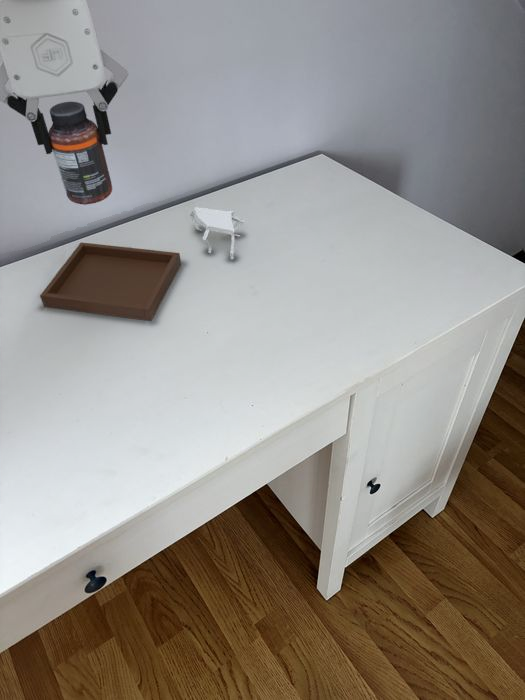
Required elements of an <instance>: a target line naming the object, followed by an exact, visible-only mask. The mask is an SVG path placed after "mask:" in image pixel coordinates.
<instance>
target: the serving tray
mask: <svg viewBox="0 0 525 700" xmlns="http://www.w3.org/2000/svg"><path fill="white" fill-rule="evenodd" d="M181 265H182V259H181V254H180V252H175V251H174V252H173V251H165V250H156V249H148V248H147V249H146V248H137V247H130V246H129V247H128V246H117V245H109V244H101V243H100V244H99V243H91V242H80V243H78V245H77V246H76V248H75V249H74V251H73V252H71V254H70V256H68V258H67V259H66V261H65V262H64V264H63V265H62V266H61V268H60V269H59V270H58V271H57V272H56V274H55V275H54V276H53V278H52V279H51V280H50V282H49V283H48V284H47V286H46V287H45V288H44V290H43V291H42V292H41V293H40V294H39V297H40V300H41V303H42V306H43V307H44V308H50V309H55V310H56V309H57V310H63V311H64V310H65V311H72V312H79V313H86V314H94V315H95V314H96V315H103V316H110V317H116V318H117V317H118V318H126V319H133V320H139V321H140V320H142V321H147V322H148V321H149V322H151V321H153V319H154V317H155V315H156V313H157V311H158V309H159V307H160V305H161V303H162V302H163V300H164V298H165V296H166V294H167V292H168V291H169V289H170V287H171V285H172V282H173V281H174V279H175V277H176V275H177V273H178V271H179V269H180V267H181Z"/></svg>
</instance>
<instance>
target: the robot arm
mask: <svg viewBox="0 0 525 700" xmlns="http://www.w3.org/2000/svg"><path fill="white" fill-rule="evenodd" d="M0 55H1V57H2V60H1V61H0V102H2V103H4V104H6V105H7V106H8V107H9V108H10V109H12V110H13V111H16V112H17V113H18V114H20V115H21V116H23V117H25V119H26V120H27V121H28V122H30V124H31V127H32V130H33V135H34V136H35V137H34V138H35V140H36V143H37V146H42V145H43V147H44V151H45V153H46V155H51V154H52V153H53V150H52V147H51V143H50V140H49V136H48V134H49V130H48V127H47V122H46V120H45V117H44V114H43V112H41V110H40V108H39V102H40V99H43V98H50V97H57V96H58V97H59V96H65V95H72V94H79V93H87V94H88V96H90V99H91V100H92V102H93V105H92V110H93V114H94V119H95V122H96V123H95V124H96V126H97V128H98V131H99V135H100V139H101V143H102V145H103V146H107V145H109V143H108V139H107V135H111V134H112V130H111V126H110V121H109V117H108V112H107V111H108V109H109V105H110V104H111V102H112V101H113V99H114V97H115V96H116V94H117V93H118V90H119V88H121V87H122V85H123V84H124V83H125V81H126V79H128V76H129V72H128V71H129V70H128V69H127V67H126V66H125V65H123V63H122V62H120V61H119V60H117V58H115V57H114V56H112V54H110V53H109V52H108V51H106V50H105V49H104V48H102V47H101V46H100V44H99V41H98V37H97V34H96V29H95V25H94V21H93V18H92V14H91V10H90V8H89V4H88V1H87V0H0ZM105 68H106V69H107V70H109V71H110V72H111V75H110V77H109V78H108V79H107V80H106V73H105V71H106V70H105ZM8 82H9V84H10V86H11V89H12V91H13V92H12V91H11V90H10V89H8V88H7V87H6V85H7V83H8Z"/></svg>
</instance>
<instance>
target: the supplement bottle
mask: <svg viewBox="0 0 525 700" xmlns="http://www.w3.org/2000/svg"><path fill="white" fill-rule="evenodd" d="M49 114H50V119H51V122H52V124H51V126H50V127H49V130H48V133H49V134H48V136H49V140H50V143H51V147H52V154H53V157H54V160H55V163H56V167H57V169H58V173H59V176H60V180H61V182H62V185H63V189H64V191H65V194H66V197H67V199H68V200H69V201H70V202H72V203H74V204H77V205H78V204H79V205H84V206H85V205H92V204H97V203H100V202H102V201H104V200H106V199H108V197H110V195H111V194H112V193H113V185H112V179H111V176H110V175H111V174H110V171H109V167H108V162H107V158H106V154H105V151H104V147H103V146H104V145H103V144H102V143H101V139H100V135H99V131H98V127H97V123H95V122H94V121H93V120H91V119H89V118H88V116H87V115H88V114H87V112H86V108H85V105H84V104H83V103H81V102H78V101H64V102H59V103H56V104H55V105H53V106H51V107H50V109H49Z"/></svg>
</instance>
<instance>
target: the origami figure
mask: <svg viewBox="0 0 525 700" xmlns="http://www.w3.org/2000/svg"><path fill="white" fill-rule="evenodd" d="M234 214H235V211H232V210H231V211H230V210H222V209H212V208H206V207H198V206H193V207H192V209H191V212H190V214H189V217H190V219H191V220H192V222H193V224H194V226H195V229H196V230H198V231H200V232H202V231H203V229H201V228H200V226H199V224H200V225H202V227H204V228H205V230H204V233H203V236H202V241H203V242H204V243H205V244H206V246H208V251H207V253H209V254H212V246H211V244H210V243H209V241H208V240H207V238H208V236H209V232H210V231H211V232H212V231H213V232H217V233H222V234H226V235H229V236H230V237H231V243H230V245H231V246H230V252H229V253H230V260H234V254H235V251H236V250H235V248H236V239H235V237H241V234H237V233H236V234H235V231H236V230H237V229H238V228H239V227H241V225H243V224H244V223H245V220H243V219H242V218H240V217H238V216H236V215H234ZM233 221H234V222H236V223H235V224H233ZM198 223H199V224H198Z"/></svg>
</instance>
